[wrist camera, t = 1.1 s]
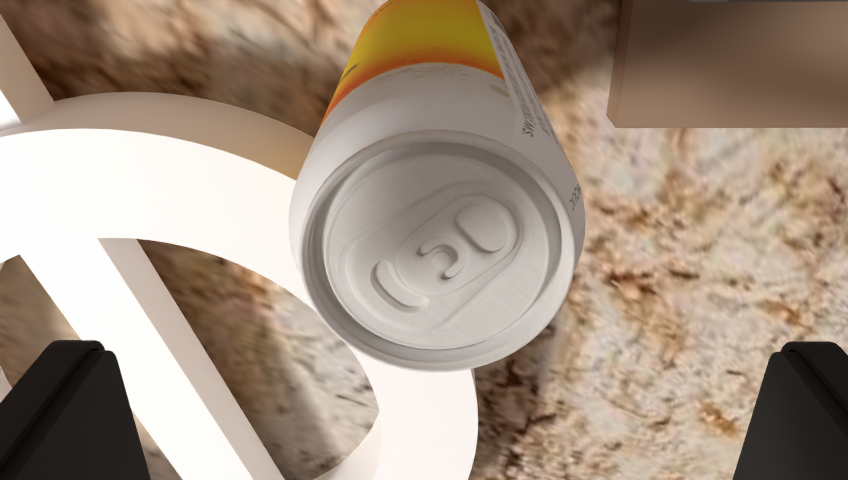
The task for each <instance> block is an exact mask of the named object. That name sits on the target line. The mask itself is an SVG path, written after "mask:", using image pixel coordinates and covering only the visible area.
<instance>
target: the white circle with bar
mask: <svg viewBox="0 0 848 480" xmlns="http://www.w3.org/2000/svg"><path fill="white" fill-rule="evenodd" d="M314 139H315V138H314V137H312V136H310V135H308V134H306V133H304V132H302V131H300V130H298V129H296V128H294V127H291V126H289V125H287V124H285V123H282V122H280V121H278V120H275V119H272V118H270V117H267V116H264V115H262V114H259V113H256V112H253V111H250V110H246V109H243V108H240V107H237V106H233V105H230V104H225V103H221V102H217V101H212V100H208V99H203V98H197V97H191V96H185V95H177V94H167V93H156V92H111V93H100V94H91V95H83V96H77V97H72V98H67V99H61V100H58V101H54V100H53V99H52V97H51V96H50V94H49V92H48V91H47V89H46V87H45V86H44V84H43V83H42V81H41V79H40V78H39V76H38V74H37V73H36V71H35V69H34V68H33V66H32V65H31V63H30V61H29V60H28V58H27V56H26V55H25V53H24V52H23V50H22V48H21V47H20V45H19V43H18V42H17V40H16V39H15V37H14V35H13V34H12V32H11V30H10V29H9V27H8V26H7V24H6V22H5V21H4V19H3V17H2V16H1V14H0V271H1V268H2V266H3V264H4V262H5V261H6V260H8V259H10V258H12V257H14V256H17V255H19V254H20V255H21V257H22V258H23V260H24V261H25V262H26V264H27V265H28V266H29V268H30V269H31V271H32V272H33V273H34V275H35V276H36V278H37V279H38V280H39V282H40V283H41V284H42V286H43V287H44V289H45V290H46V291H47V293H48V294H49V295H50V297H51V298H52V300H53V301H54V302H55V304H56V305H57V307H58V308H59V309H60V311H61V312H62V313H63V315H64V316H65V318H66V319H67V320H68V322H69V323H70V325H71V326H72V327H73V329H74V330H75V331H76V333H77V334H78V336H79V337H80V338H81V340H96V341H100V342H101V343H102V345H103V346H104V348H105V350H109V351H113V353H114V354H115V355H116V358H117V360H118V364H119V368H120V371H121V375H122V378H123V382H124V386H125V389H126V393H127V396H128V400H129V403H130V407H131V409H132V410H133V412H134V413H135V414H136V416H137V417H138V419H139V420H140V421H141V423H142V424H143V426H144V427H145V428H146V430H147V431H148V432H149V434H150V435H151V437H152V438H153V439H154V441H155V442H156V444H157V445H158V446H159V448H160V449H161V450H162V452H163V453H164V455H165V456H166V457H167V459H168V460H169V461H170V463H171V464H172V466H173V467H174V468H175V470H176V471H177V473H178V474H179V475H180V477H181V478H182V479H183V480H284V478H283V476H282V475H281V473H280V471H279V470H278V468H277V467H276V465H275V463H274V462H273V460H272V458H271V457H270V455H269V454H268V452H267V450H266V449H265V447H264V445H263V444H262V442H261V441H260V439H259V437H258V436H257V434H256V432H255V431H254V429H253V428H252V426H251V424H250V423H249V421H248V419H247V418H246V416H245V415H244V413H243V411H242V410H241V408H240V406H239V405H238V403H237V402H236V400H235V398H234V397H233V395H232V393H231V392H230V390H229V389H228V387H227V385H226V384H225V382H224V380H223V379H222V377H221V376H220V374H219V372H218V371H217V369H216V367H215V366H214V364H213V363H212V361H211V359H210V358H209V356H208V354H207V353H206V351H205V350H204V348H203V346H202V345H201V343H200V342H199V340H198V338H197V337H196V335H195V333H194V332H193V330H192V329H191V327H190V325H189V324H188V322H187V320H186V319H185V317H184V316H183V314H182V312H181V311H180V309H179V307H178V306H177V304H176V303H175V301H174V299H173V298H172V296H171V294H170V293H169V291H168V290H167V288H166V286H165V285H164V283H163V281H162V280H161V278H160V277H159V275H158V273H157V272H156V270H155V268H154V267H153V265H152V264H151V262H150V260H149V259H148V257H147V255H146V254H145V252H144V251H143V249H142V247H141V246H140V244H139V242H138V241H137V239H144V240H152V241H159V242H166V243H171V244H176V245H180V246H185V247H189V248H193V249H196V250H200V251H204V252H207V253H210V254H213V255H216V256H219V257H222V258H224V259H227V260H230V261H232V262H235V263H237V264H240V265H242V266H244V267H246V268H248V269H250V270H253V271H255V272H257V273H259V274H260V275H262V276H264V277H266V278H268V279H270V280H272V281H273V282H275V283H277V284H278V285H280V286H282V287H283V288H285V289H286V290H288V291H289V292H291V293H292V294H294V295H295V296H297V297H298V298H299V299H301V300H302V301H303V302H305V303H306V304H307V305H308V306H310V307H311V308H312V309H313V310H315V309H314V307H313V306H312V304H311V302H310V300H309V297H308V295H307V293H306V290H305V287H304V284H303V281H302V277H301V275H300V273H299V271H298V269H297V266H296V263H295V260H294V257H293V254H292V250H291V245H290V240H289V226H288V221H289V208H290V203H291V198H292V193H293V190H294V187H295V184H296V181H297V178H298V176H299V174H300V171H301V169H302V167H303V164H304V162H305V160H306V158H307V155H308V153H309V151H310V148H311V146H312V144H313V141H314ZM315 311H316V310H315ZM347 345H348V344H347ZM348 346H349V345H348ZM349 347H350V346H349ZM350 349H351V350H352V351H353V353H354V354H355V356H356V357H357V359H358V361H359V362H360V364H361V365H362V367H363V369H364V371H365V373H366V375H367V377H368V379H369V381H370V383H371V386H372V388H373V390H374V393H375V396H376V399H377V403H378V407H379V411H380V412H379V415H378V417H377V419H376V421H375V423H374V425H373V427H372V428H371V430H370V432H369V433H368V435H367V436H366V437H365V439H364V440H363V441H362V442H361V444H360V445H359V446H358V447H357V448H356V449H355V450H354V451H353V452H352V453H351V454H350V455H349V456H348V457H347V458H346V459H345V460H343V461H342V462H341V463H339V464H338V465H337V466H335V467H334V468H332V469H331V470H329V471H328V472H326V473H324V474H323V475H321V476H319V477H317V478H315V479H313V480H468V478H469V475H470V472H471V469H472V465H473V461H474V457H475V451H476V444H477V435H478V408H477V396H476V385H475V374H474V368H472V369H467V370H462V371H454V372H432V373H431V372H418V371H412V370H406V369H401V368H397V367H393V366H390V365H387V364H384V363H381V362H379V361H376V360H374V359H372V358H370V357H368V356H365V355H363V354H361V353H360V352H358V351H357V350H355V349H353V348H352V347H350ZM11 389H12V387H11V386H10V384H9V382H8V380H7V378H6V376H5V374H4V372H3V370H2V368H1V365H0V402H1V401H2V400H3V399H4V398H5V397H6V395H7V394H8V393H9V392H10V391H11Z"/></svg>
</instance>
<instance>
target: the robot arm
mask: <svg viewBox="0 0 848 480" xmlns="http://www.w3.org/2000/svg"><path fill="white" fill-rule="evenodd" d="M0 480H151V479H150V475H149V472H148V468H147V464H146V461H145V457H144V454H143V450H142V447H141V443H140V439H139V436H138V432H137V429H136V425H135V421H134V418H133V414H132V411H131V407H130V403H129V400H128V396H127V393H126V389H125V386H124V382H123V378H122V375H121V371H120V368H119V364H118V360H117V358H116V355H115V354H114V353H113V351H109V350H105V348H104V346H103V345H102V343H101V342H100V341H96V340H57V341H54V342H52V343H51V344H50V345H48V346H47V348H46V349H45V350H44V351H43V352H42V354H41V355H40V356H39V357H38V358H37V360H36V361H35V362H34V363H33V364H32V365H31V367H30V368H29V369H28V370H27V371H26V373H25V374H24V375H23V376H22V377H21V379H20V380H19V381H18V382H17V383H16V385H15V386H14V387H13V388H12V389H11V391H10V392H9V393H8V394H7V395H6V397H5V398H4V399H3V400H2V401H1V402H0ZM733 480H848V355H847V354H846V353H845V352H844V351H843V350H842V348H841V347H839V346H838V345H837V344H836V343H833V342H788V343H786V344H785V345H784V346H783V347H782V350H781V352H775V353H773V354H772V355H771V357H770V359H769V362H768V365H767V368H766V371H765V375H764V378H763V381H762V385H761V388H760V391H759V394H758V398H757V401H756V404H755V408H754V411H753V414H752V418H751V421H750V424H749V427H748V431H747V434H746V437H745V441H744V444H743V447H742V450H741V454H740V457H739V460H738V464H737V467H736V470H735V473H734V477H733Z"/></svg>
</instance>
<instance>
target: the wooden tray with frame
mask: <svg viewBox="0 0 848 480" xmlns="http://www.w3.org/2000/svg"><path fill="white" fill-rule="evenodd" d="M607 117H608V118H609V119H610V121H611V122H612V123H613V125H614V126H615V128H848V0H622V5H621V12H620V20H619V27H618V35H617V42H616V49H615V57H614V64H613V71H612V79H611V86H610V94H609V101H608V108H607Z"/></svg>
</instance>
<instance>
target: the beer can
mask: <svg viewBox="0 0 848 480" xmlns="http://www.w3.org/2000/svg"><path fill="white" fill-rule="evenodd" d="M288 226H289V240H290V245H291V250H292V254H293V257H294V260H295V263H296V266H297V269H298V271H299V273H300V275H301V277H302V281H303V284H304V287H305V290H306V293H307V295H308V297H309V300H310V302H311V304H312V306H313V307H314V309H315V310H316V312H317V314H318V315H319V317H320V318H321V319H322V320H323V322H324V323H325V324H326V325H327V326H328V328H329V329H330V330H331V331H332V332H333V333H334V334H336V335H337V336H338V337H339V338H340V339H341V340H342V341H344V342H345V343H346V344H348V345H349V346H350V347H352V348H353V349H355V350H357V351H358V352H360V353H361V354H363V355H365V356H368V357H370V358H372V359H374V360H376V361H379V362H381V363H384V364H387V365H390V366H393V367H397V368H401V369H406V370H412V371H418V372H431V373H432V372H454V371H462V370H467V369H472V368H476V367H480V366H483V365H487V364H490V363H492V362H495V361H497V360H500V359H502V358H504V357H506V356H508V355H510V354H512V353H514V352H515V351H517V350H519V349H520V348H522V347H523V346H525V345H526V344H527V343H529V342H530V341H531V340H532V339H534V338H535V337H536V336H537V335H538V334H539V333H540V332H541V331H542V330H543V329H544V328H545V327H546V326H547V325H548V324H549V323H550V321H551V320H552V319H553V318H554V316H555V315H556V314H557V312H558V310H559V309H560V307H561V306H562V304H563V302H564V300H565V298H566V296H567V294H568V291H569V289H570V285H571V282H572V279H573V275H574V271H575V269H576V267H577V264H578V261H579V258H580V255H581V252H582V247H583V242H584V236H585V210H584V202H583V198H582V193H581V189H580V186H579V183H578V181H577V178H576V175H575V173H574V171H573V169H572V167H571V165H570V163H569V161H568V159H567V157H566V155H565V152H564V150H563V148H562V146H561V144H560V142H559V140H558V138H557V136H556V134H555V132H554V130H553V128H552V126H551V124H550V122H549V119H548V117H547V115H546V113H545V111H544V109H543V107H542V105H541V103H540V101H539V99H538V97H537V95H536V93H535V91H534V89H533V87H532V84H531V82H530V80H529V78H528V76H527V74H526V72H525V70H524V68H523V66H522V64H521V62H520V60H519V58H518V56H517V54H516V51H515V49H514V47H513V45H512V43H511V41H510V39H509V37H508V35H507V33H506V31H505V29H504V27H503V25H502V24H501V22H500V21H499V19H498V18H497V17H496V16H495V14H494V13H493V12H492V11H491V10H490V9H489V8H488V7H487V6H486V5H484V4H483V3H482V2H480V1H479V0H388V1H387V2H386V3H384V4H383V5H382V6H381V7H380V8H379V9H377V10H376V11H375V12H374V14H373V15H372V16H371V17H370V18H369V20H368V21H367V23H366V24H365V26H364V27H363V29H362V31H361V33H360V35H359V38H358V40H357V42H356V45H355V47H354V49H353V52H352V54H351V56H350V58H349V61H348V63H347V65H346V68H345V70H344V72H343V75H342V77H341V79H340V82H339V84H338V86H337V88H336V91H335V93H334V95H333V98H332V100H331V102H330V105H329V107H328V109H327V111H326V114H325V116H324V118H323V121H322V123H321V125H320V128H319V130H318V132H317V134H316V137H315V139H314V141H313V144H312V146H311V148H310V151H309V153H308V155H307V158H306V160H305V162H304V164H303V167H302V169H301V171H300V174H299V176H298V178H297V181H296V184H295V187H294V190H293V193H292V198H291V203H290V208H289V221H288Z"/></svg>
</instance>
